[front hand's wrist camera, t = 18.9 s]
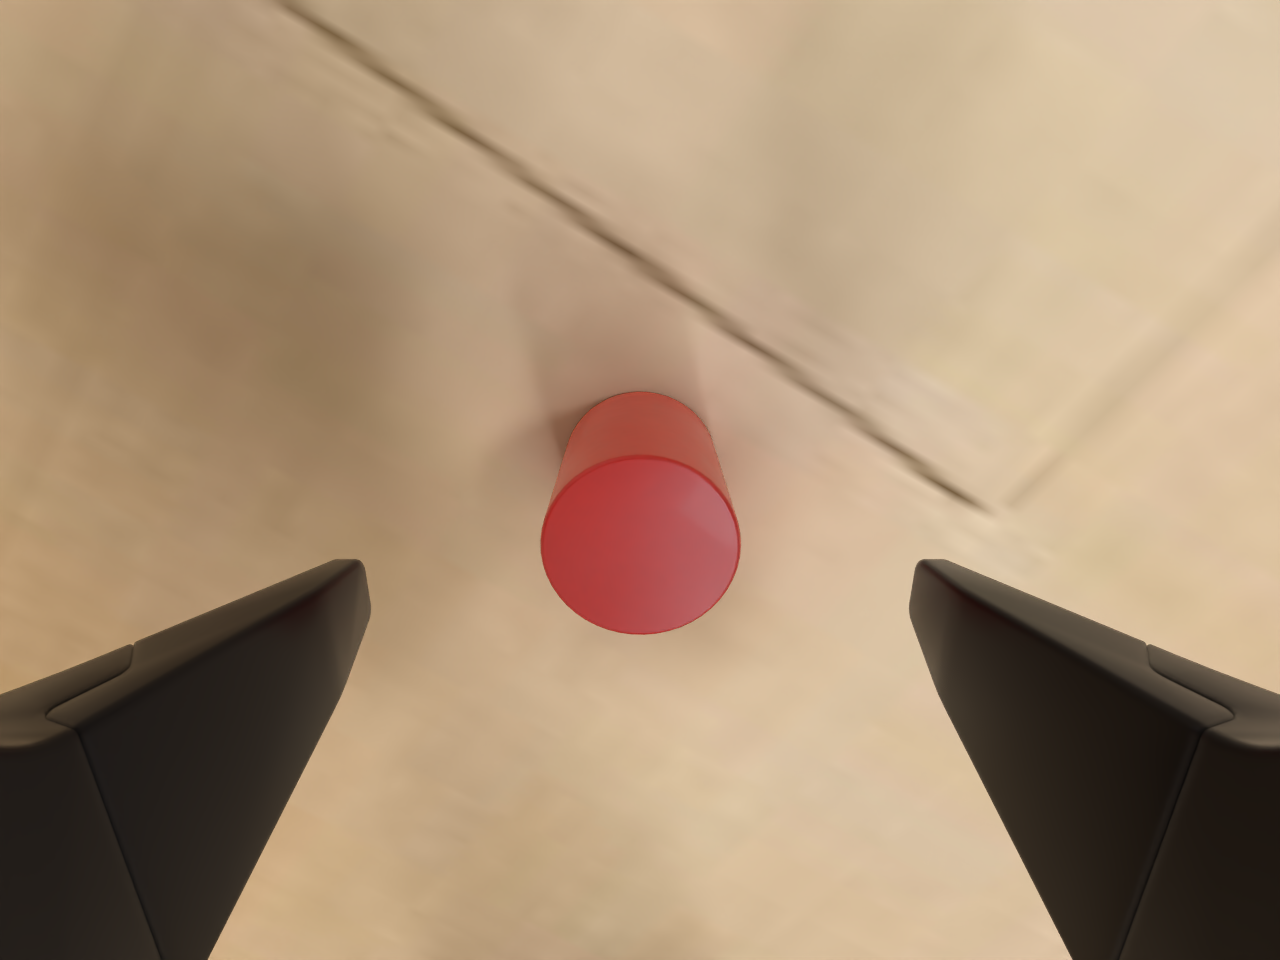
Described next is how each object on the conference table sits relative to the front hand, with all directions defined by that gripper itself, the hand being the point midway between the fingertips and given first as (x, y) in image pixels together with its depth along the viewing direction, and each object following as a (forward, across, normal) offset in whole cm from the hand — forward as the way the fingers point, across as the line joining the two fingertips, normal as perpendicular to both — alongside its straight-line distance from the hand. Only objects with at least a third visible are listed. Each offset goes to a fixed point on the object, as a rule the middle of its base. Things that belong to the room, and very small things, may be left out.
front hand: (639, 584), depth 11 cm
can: (+6, 0, 0) cm, 6 cm away
